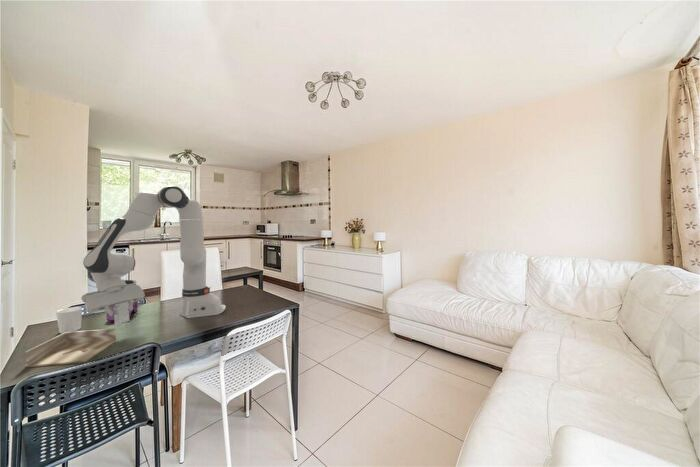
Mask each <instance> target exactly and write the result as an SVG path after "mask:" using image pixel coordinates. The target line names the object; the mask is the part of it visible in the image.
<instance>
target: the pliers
mask: <svg viewBox="0 0 700 467" xmlns="http://www.w3.org/2000/svg"><path fill="white" fill-rule="evenodd" d="M104 312H105V311H104V310H100V311H96V312H92V313H90V314H91V315H92V314H99V313H104ZM105 313H106V312H105Z"/></svg>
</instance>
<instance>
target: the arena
mask: <svg viewBox="0 0 700 467" xmlns="http://www.w3.org/2000/svg"><path fill="white" fill-rule="evenodd" d="M115 342H117V328H107V329H106V328H105V329H102V328H101V329H91V330H89V329H88V330H77V331H72V332H64V333H60V334H59V335H56V336H55V337H52V338H51V339H48V340H46V341H44V342H42V343H40V344H38V345H36V346H34V347H32V348H30V349H27V350H26V351H24V352H23V357H24V368H33V367H44V366H46V367H47V366H55V365H56V366H57V365H67V364H78V363H86V362H88V361H89V360H91V359H92V358H93V357H95V356H97V355H98V354H99V353H101V352H102V351H104V350H106V349H107V348H108V347H110V346H111V345H113V344H115Z"/></svg>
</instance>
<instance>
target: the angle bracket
mask: <svg viewBox="0 0 700 467" xmlns="http://www.w3.org/2000/svg"><path fill="white" fill-rule="evenodd" d="M113 306H114V311H115V315H114V320H115V323H114V325H115V326H118V328H121V327H122V326H123V323H127V322H129V321H130V320H131V319H130V317H129V305H128V301H127V302H123V303H119V304H115V305H113Z"/></svg>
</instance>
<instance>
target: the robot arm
mask: <svg viewBox="0 0 700 467" xmlns="http://www.w3.org/2000/svg"><path fill="white" fill-rule="evenodd" d="M161 208H167V209H170V208H171V209H172V208H175V209H176V210H177V213H178V218H179V219H178V220H179V233H180V234H179V235H180V238H179V245H180V246H179V249H180V250H179V251H180V253H179V256H180V261H181V262H182V263H183V271H182V290H181V291H182V292H181V296H182V306H181V311H180V316H182V317H185V318H186V319H194V318H199V317H201V318H202V317H208V316H217V315H220V314H222V313H223V312H224V311H226V308H227V307H226V305H225V304H222V301H221V298H220V297H219V296H217V295H216V294H214V293H211V289H212V288H211V286H209V287H208V286H207V249H206V247H205V244H204V243H205V242H204V240H205V238H204V237H205V233H204V232H205V231H204V220H203V211H202V207H201V204H200V202H199V201H197V200H194V199H192V198H191V199H189V197H188V195H187V194H186V193H185V192H184V190H183V189H182V188H181V187H179V186H176V185H172V184H171V185H166V186H164V187H162V188H161V189H160V190H159V191H158V192H155V193H154V192H150V191H141V192H138V194H137V195H136V196H135V197H134V198H133V200H132V201H131V203H130V205H129V206H128V209H127V210H126V212H125V213H124V215H122V216H121V217H119V218H116V219H115V220H113V222H112V223H111V224H110V225H109V226H108V228H107V229H106V230H105V232H104V233H103V235H102V236H101V237H100V238H99V240H98V241H97V243H96V244H95V245H94V247H93V248H92V249H91V250H90V251H89V252H88V253H87V254H86V255H85V257H84V259H83V264H82V265H83V267H84V268H85V269H86V270H87V271H88V272H89V273H90V275H91V278H92V280H93V282H94V283H95V287H96V289H97V291H96V290H95V291H91V292H87V293H85V294H83V295H82V296H81V300H82V302H83V303H84V307H85V311H86V313H90V314H91V313H93V312H99V311H103V310H104V311H105V313H106V314H107V313H109V315H110V316H113V315H115V311H114V310H110V309H109V308H112V307H114V306H113V305H115V304H119V303H123V302H127V301H128V304H129V305H130V306H129V311H132V310H133V306H132V305H133V302H136V301H138V302H139V301H142V300H143V299H144V298H145V292H144V290H143V288H142V287H141V286H140V285H138V284H137V281H136V280H134V279H122V278H121V277H124V276H126V275H127V274H129V273H130V272H132V271H133V270H134V269H135V267H136V259H135V257H134V256H133V255H132V254H127V253H121V252H113V251H112V249H113V248H114V246H115V245H116V243H117V242H118V241H119V239H120V238H121V237H122V236H123V235H125V234H127V233H132V232H140V231H145V230H147V229H149V228H150V227H151V226H153V224H154V221H155V219H156V217H157V215H158V213H159V211H160V209H161ZM111 251H112V252H111Z"/></svg>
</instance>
